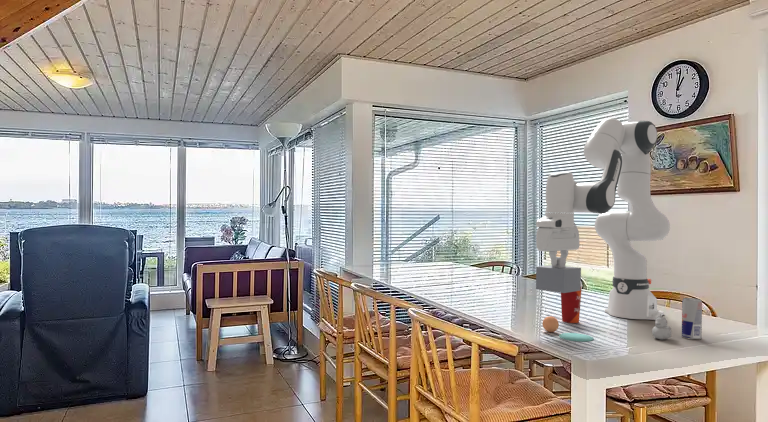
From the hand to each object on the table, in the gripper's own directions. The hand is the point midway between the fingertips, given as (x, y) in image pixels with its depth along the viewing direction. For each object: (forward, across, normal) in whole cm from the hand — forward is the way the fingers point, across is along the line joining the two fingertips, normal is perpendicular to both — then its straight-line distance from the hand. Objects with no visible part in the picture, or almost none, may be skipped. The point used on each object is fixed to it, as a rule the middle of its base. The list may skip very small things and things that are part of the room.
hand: (558, 264), depth 171 cm
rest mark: (+22, +3, +8) cm, 23 cm away
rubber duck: (+22, -17, +26) cm, 38 cm away
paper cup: (+22, -18, -5) cm, 28 cm away
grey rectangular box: (+8, 0, 0) cm, 8 cm away
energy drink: (+22, -26, +31) cm, 46 cm away
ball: (+19, +3, -1) cm, 19 cm away
